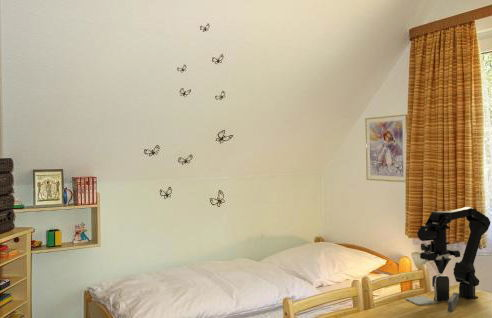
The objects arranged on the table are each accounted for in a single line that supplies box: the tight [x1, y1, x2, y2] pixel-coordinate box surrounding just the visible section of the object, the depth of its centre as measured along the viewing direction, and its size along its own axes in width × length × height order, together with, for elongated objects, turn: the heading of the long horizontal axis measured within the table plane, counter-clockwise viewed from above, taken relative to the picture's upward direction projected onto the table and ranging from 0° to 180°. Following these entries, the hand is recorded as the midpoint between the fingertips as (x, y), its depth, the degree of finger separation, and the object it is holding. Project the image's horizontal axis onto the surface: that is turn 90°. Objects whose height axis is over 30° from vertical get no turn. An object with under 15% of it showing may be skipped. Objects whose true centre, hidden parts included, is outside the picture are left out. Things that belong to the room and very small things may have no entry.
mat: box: [404, 295, 438, 306], centre depth 189 cm, size 10×9×1 cm
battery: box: [431, 274, 450, 302], centre depth 191 cm, size 7×4×11 cm, turn 105°
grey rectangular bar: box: [447, 292, 459, 312], centre depth 182 cm, size 15×2×4 cm, turn 145°
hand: (440, 273), depth 190 cm, fingers closed
